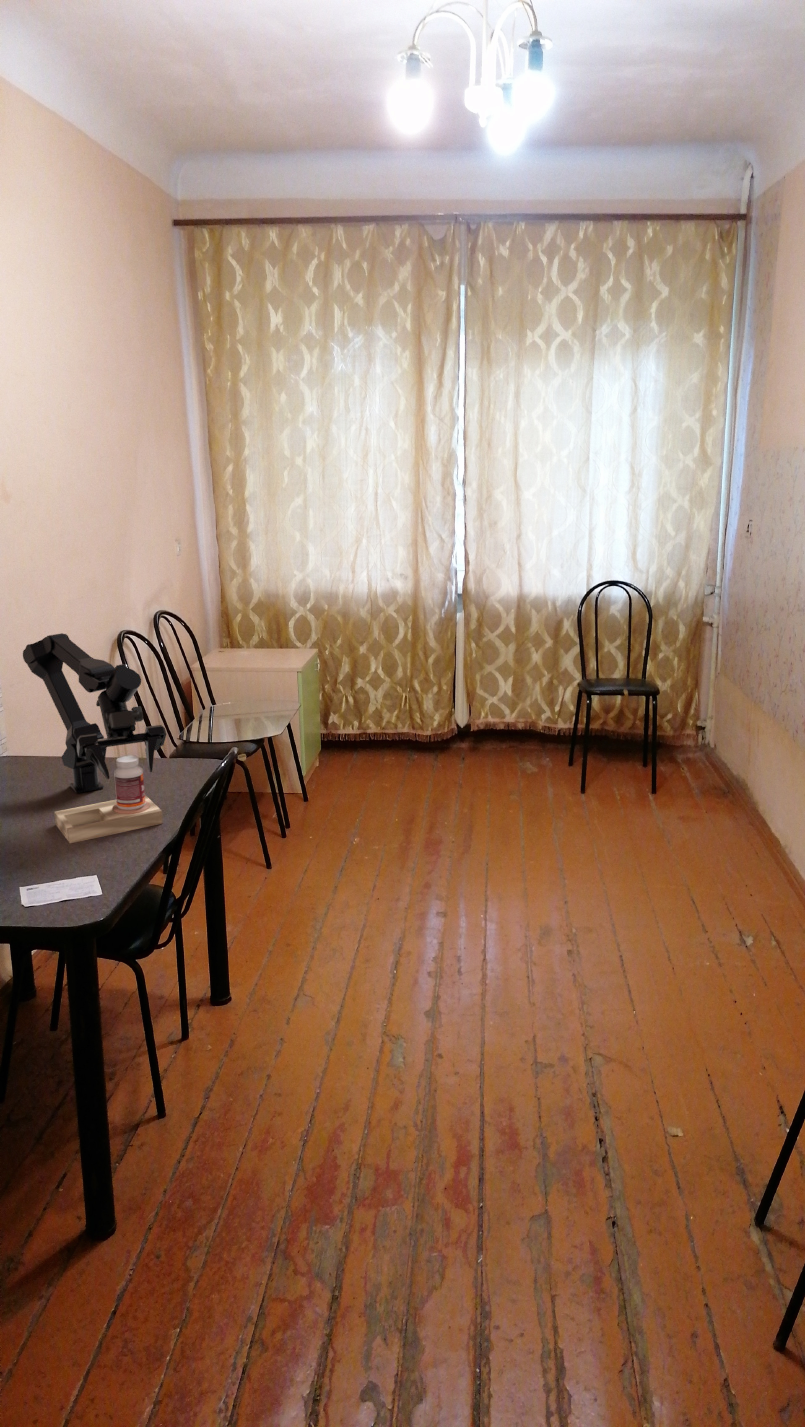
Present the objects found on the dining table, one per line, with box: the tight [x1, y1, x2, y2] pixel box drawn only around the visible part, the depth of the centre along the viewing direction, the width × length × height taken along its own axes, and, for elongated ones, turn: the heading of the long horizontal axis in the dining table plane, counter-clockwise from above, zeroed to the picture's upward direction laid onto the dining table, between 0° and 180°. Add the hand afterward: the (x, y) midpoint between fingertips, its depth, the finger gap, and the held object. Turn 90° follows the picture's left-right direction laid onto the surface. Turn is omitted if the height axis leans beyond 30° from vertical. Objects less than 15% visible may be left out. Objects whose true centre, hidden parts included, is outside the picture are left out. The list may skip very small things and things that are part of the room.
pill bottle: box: [113, 754, 146, 810], centre depth 210 cm, size 6×6×11 cm
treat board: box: [53, 794, 164, 844], centre depth 210 cm, size 12×20×3 cm, turn 123°
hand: (130, 775), depth 208 cm, fingers open, 9 cm apart
